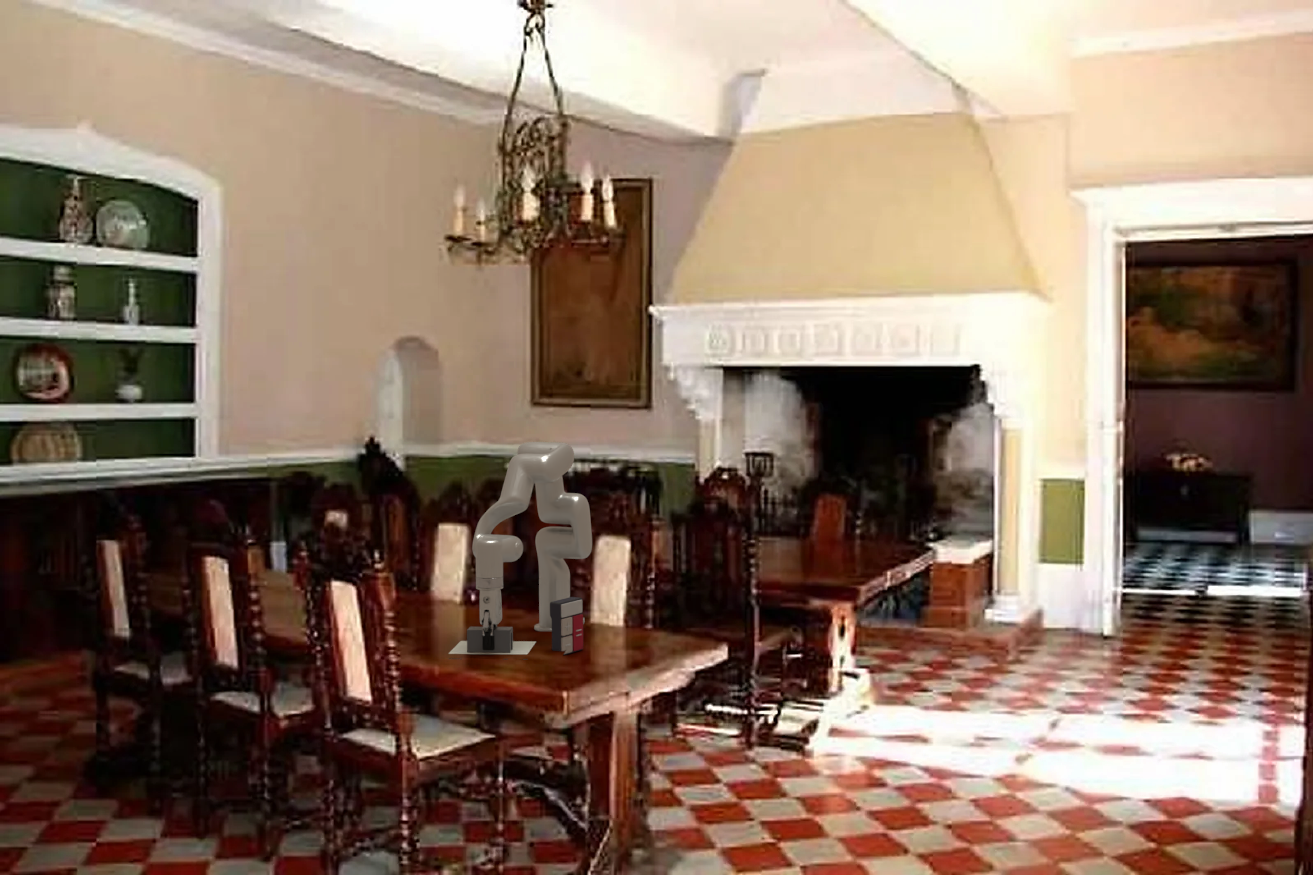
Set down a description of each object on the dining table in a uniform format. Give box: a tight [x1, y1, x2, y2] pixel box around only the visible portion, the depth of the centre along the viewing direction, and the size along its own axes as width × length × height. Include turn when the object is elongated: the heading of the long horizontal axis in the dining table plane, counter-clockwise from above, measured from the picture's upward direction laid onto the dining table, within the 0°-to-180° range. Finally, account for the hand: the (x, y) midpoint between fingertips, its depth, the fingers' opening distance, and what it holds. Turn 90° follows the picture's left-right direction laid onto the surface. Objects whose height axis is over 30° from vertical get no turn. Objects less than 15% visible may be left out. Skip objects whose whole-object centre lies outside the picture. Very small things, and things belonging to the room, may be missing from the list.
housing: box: [466, 626, 514, 652], centre depth 388 cm, size 12×5×6 cm, turn 87°
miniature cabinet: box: [550, 596, 584, 656], centre depth 393 cm, size 11×4×15 cm, turn 148°
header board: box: [448, 640, 537, 661], centre depth 394 cm, size 22×18×6 cm
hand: (490, 647), depth 389 cm, fingers closed on housing, 4 cm apart
